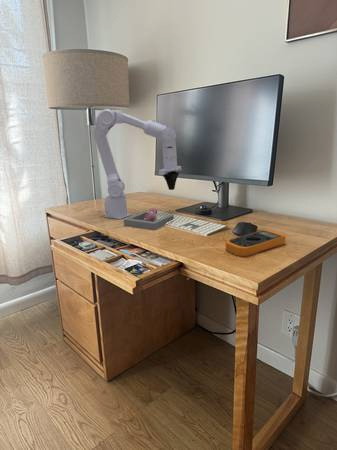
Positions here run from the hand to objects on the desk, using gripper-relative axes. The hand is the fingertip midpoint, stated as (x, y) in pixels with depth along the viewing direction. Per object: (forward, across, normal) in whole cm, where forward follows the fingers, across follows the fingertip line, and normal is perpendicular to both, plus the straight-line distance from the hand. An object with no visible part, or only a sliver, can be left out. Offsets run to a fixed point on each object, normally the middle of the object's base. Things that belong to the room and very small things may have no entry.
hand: (171, 189), depth 135 cm
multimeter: (+11, -25, -45) cm, 53 cm away
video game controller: (+11, -16, 0) cm, 19 cm away
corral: (+10, -17, 0) cm, 20 cm away
